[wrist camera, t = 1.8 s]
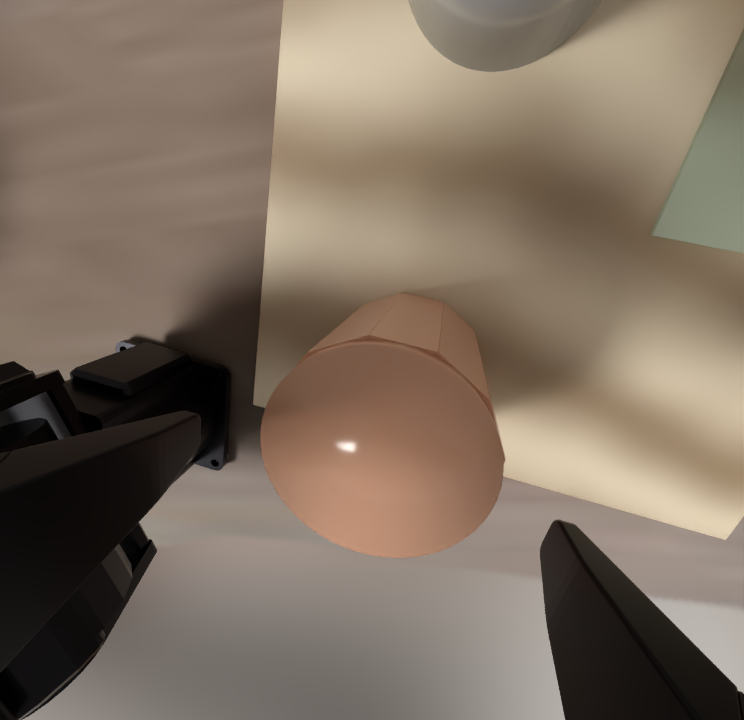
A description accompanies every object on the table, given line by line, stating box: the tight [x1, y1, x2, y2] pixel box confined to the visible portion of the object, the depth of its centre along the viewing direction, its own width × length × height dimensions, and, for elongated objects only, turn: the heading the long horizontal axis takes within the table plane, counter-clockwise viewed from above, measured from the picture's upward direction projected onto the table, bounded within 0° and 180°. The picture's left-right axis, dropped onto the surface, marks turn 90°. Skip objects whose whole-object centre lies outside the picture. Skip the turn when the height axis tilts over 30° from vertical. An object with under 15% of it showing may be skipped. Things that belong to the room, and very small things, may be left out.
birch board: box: [253, 0, 744, 540], centre depth 13 cm, size 22×22×1 cm
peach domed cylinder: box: [260, 292, 506, 558], centre depth 13 cm, size 6×6×7 cm
